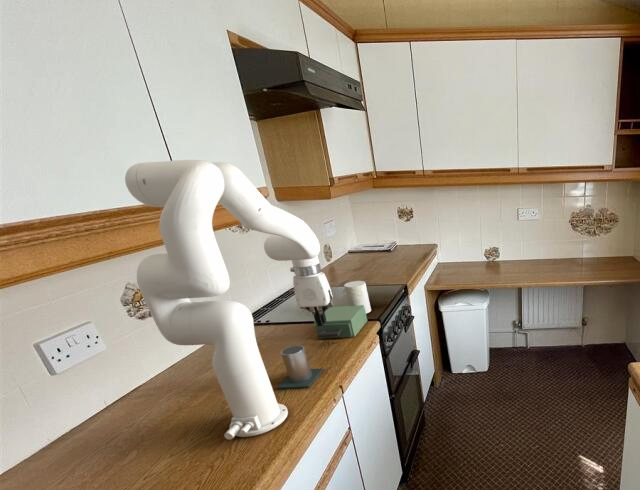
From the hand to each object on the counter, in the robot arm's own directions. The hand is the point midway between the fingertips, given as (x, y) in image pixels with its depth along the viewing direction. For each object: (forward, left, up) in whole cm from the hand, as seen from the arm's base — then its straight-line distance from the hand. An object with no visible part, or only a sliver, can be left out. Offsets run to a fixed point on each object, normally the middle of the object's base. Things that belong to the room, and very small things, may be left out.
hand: (321, 324), depth 135 cm
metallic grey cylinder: (-21, -1, -8) cm, 22 cm away
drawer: (+11, 0, -8) cm, 13 cm away
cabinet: (+15, 0, -9) cm, 17 cm away
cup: (+33, -1, -9) cm, 34 cm away
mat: (-21, -1, -9) cm, 23 cm away
